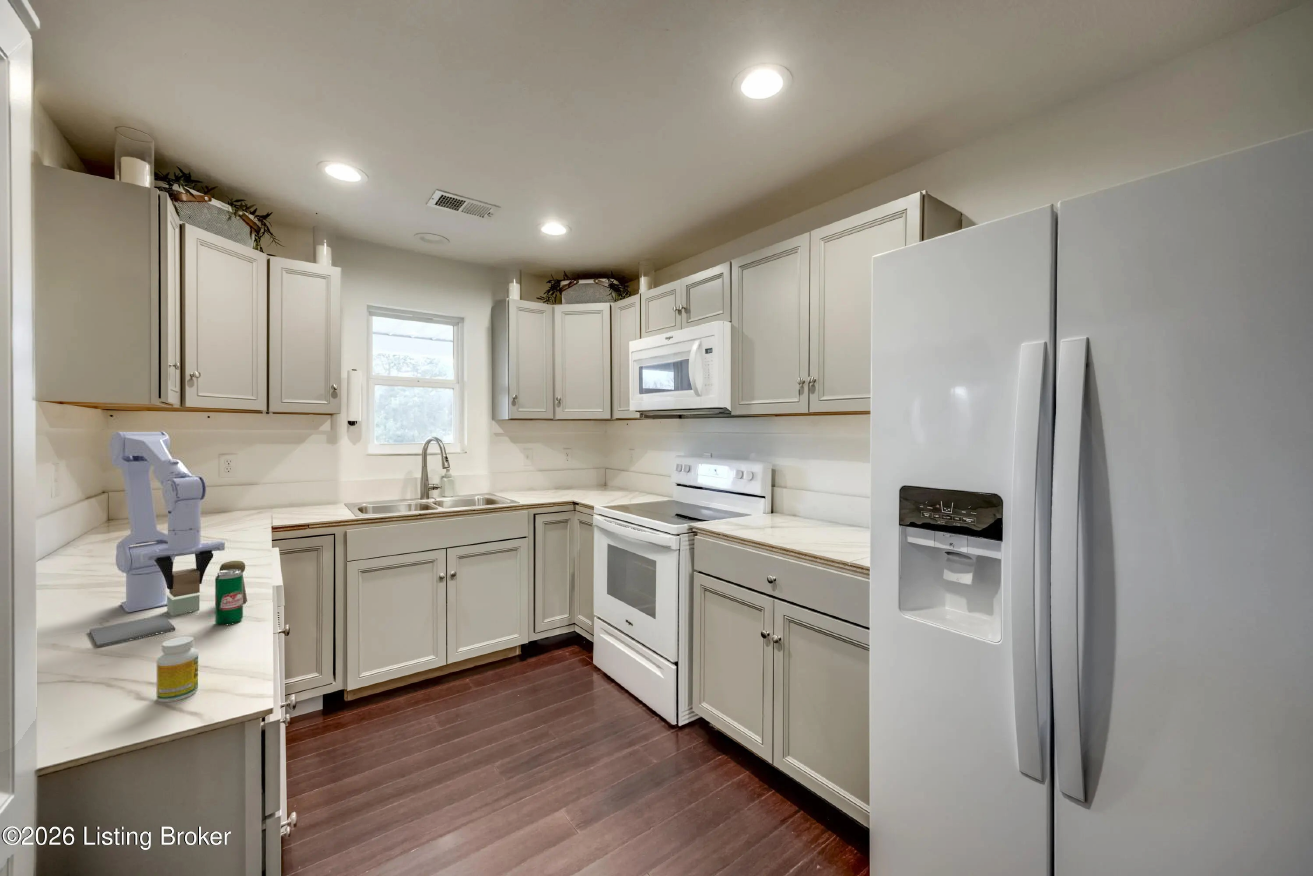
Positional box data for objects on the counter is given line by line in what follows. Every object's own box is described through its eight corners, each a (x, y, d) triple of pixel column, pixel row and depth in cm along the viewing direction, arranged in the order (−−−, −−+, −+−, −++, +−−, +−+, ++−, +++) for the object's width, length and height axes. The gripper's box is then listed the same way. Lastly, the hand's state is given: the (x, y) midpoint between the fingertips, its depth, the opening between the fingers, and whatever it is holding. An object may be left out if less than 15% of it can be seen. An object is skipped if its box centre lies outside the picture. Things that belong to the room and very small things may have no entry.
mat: (89, 632, 115) (89, 629, 115) (163, 616, 125) (163, 614, 125) (97, 647, 108) (97, 644, 108) (175, 630, 117) (175, 627, 117)
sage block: (167, 611, 128) (167, 595, 128) (193, 606, 133) (193, 590, 132) (172, 616, 126) (172, 600, 125) (199, 610, 130) (199, 594, 130)
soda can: (220, 628, 119) (220, 576, 119) (211, 622, 122) (211, 572, 122) (246, 621, 124) (246, 571, 123) (237, 616, 126) (237, 567, 126)
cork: (230, 609, 131) (230, 565, 131) (210, 606, 132) (210, 563, 132) (253, 601, 137) (253, 559, 136) (234, 598, 138) (234, 557, 138)
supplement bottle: (153, 695, 90) (153, 641, 90) (194, 684, 95) (194, 632, 94) (159, 707, 87) (159, 650, 87) (201, 694, 91) (201, 640, 91)
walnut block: (169, 592, 122) (169, 571, 122) (194, 588, 126) (194, 567, 125) (174, 597, 119) (174, 575, 119) (199, 592, 123) (199, 571, 123)
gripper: (145, 536, 114) (145, 597, 114) (228, 526, 125) (228, 582, 126) (138, 531, 118) (138, 590, 118) (219, 522, 130) (219, 576, 130)
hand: (184, 585), depth 122 cm, fingers closed on walnut block, 4 cm apart
